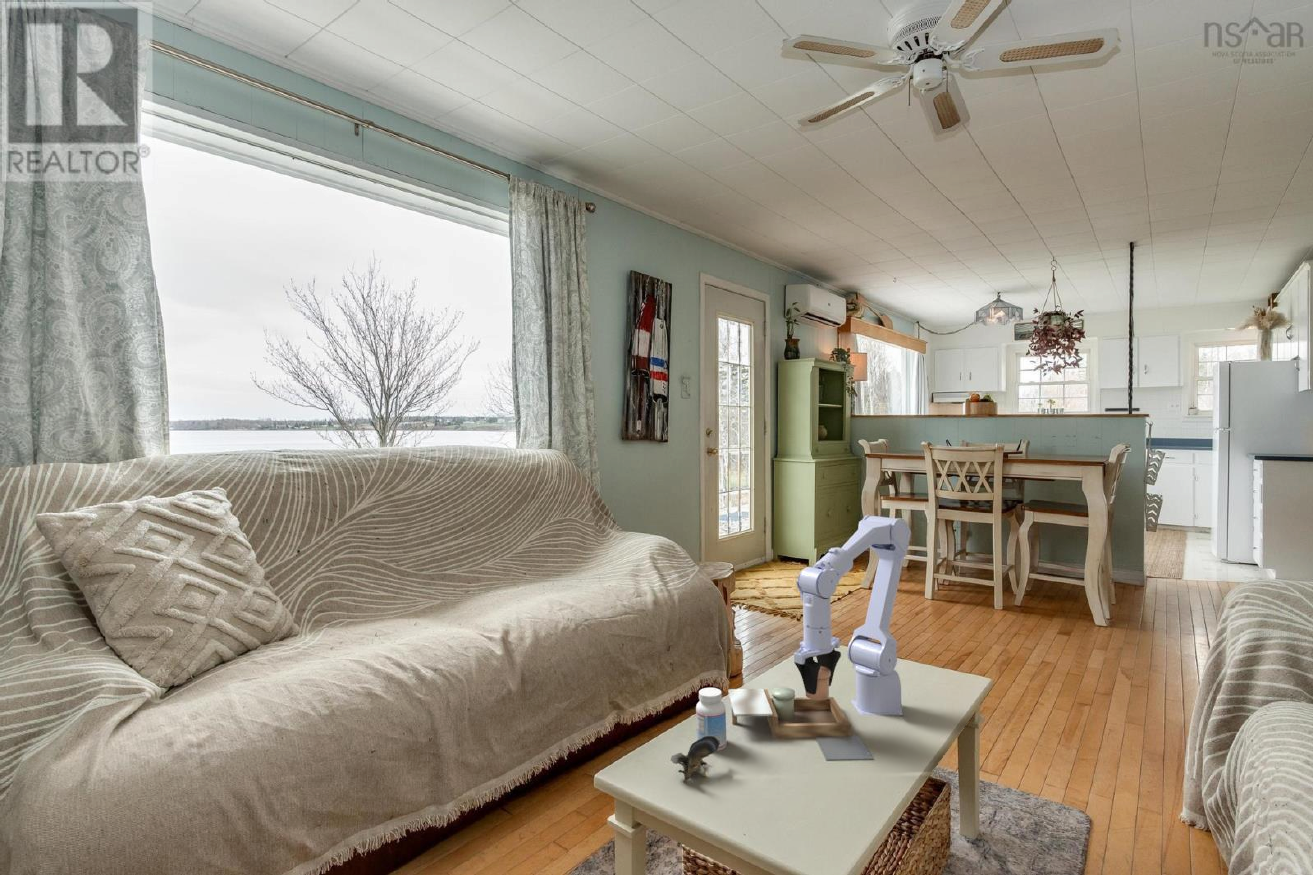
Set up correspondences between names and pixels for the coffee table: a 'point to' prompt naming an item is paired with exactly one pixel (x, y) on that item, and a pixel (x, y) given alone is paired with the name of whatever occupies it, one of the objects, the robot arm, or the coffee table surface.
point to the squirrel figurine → (696, 756)
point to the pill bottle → (711, 716)
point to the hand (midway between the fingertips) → (818, 688)
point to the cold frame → (807, 720)
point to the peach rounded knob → (821, 685)
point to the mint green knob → (784, 702)
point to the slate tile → (843, 748)
